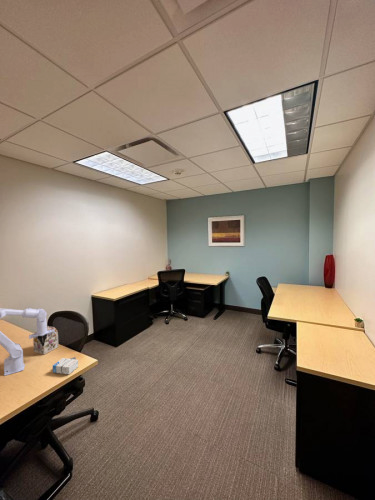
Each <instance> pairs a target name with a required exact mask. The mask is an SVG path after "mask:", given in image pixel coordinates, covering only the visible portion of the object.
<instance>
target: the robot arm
mask: <svg viewBox="0 0 375 500" xmlns="http://www.w3.org/2000/svg"><path fill="white" fill-rule="evenodd" d="M6 316H22V317H23V318H26V319H27V318H30V319H31V318H32V319H36V320H35V321H36V332H37V333H35V332H34V333H32V334H29V336H28V339H29V340H31V339H33V338H34V337H38V339H39V341H40V342H41V344H42V346H44V343H45V340H46V338H47V334H50V333H55V329H53V330H47V326H48V323H47V320H48V319H47V316H48V313H47V311H46V310H45V309H43V308H42V307H41V308H31V307H27V308H25V309H15V308H14V309H13V308H3V307H0V319H2V318H4V317H6ZM42 336H43V339H42ZM0 346H1V347H2V348H3V349H5V351H7V353H8V354H9V356H8V357H6V358H5V359H4V361H3V372H4V373H3V375H4V376H8V375H12V374H16V373H19V372H22V371H24V370H25V366H26V364H25V363H24V349H23V348H22V347H21V344H19V343H16V342H15V341H14V340H11V339H10V338H9V337H8V336H7V335H6V334H5V333H3V332H2V331H1V330H0Z"/></svg>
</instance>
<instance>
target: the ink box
mask: <svg viewBox="0 0 375 500" xmlns="http://www.w3.org/2000/svg"><path fill="white" fill-rule="evenodd" d="M77 368H79V359H70V358H67V357H62V358H61V359H59V360H58V361H57V362H55V363H54V364H52V373H55V374H61V375H62V374H63V375H70V374H71V373H73V372H74V371H75V370H76V369H77Z"/></svg>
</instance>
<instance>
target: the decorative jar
mask: <svg viewBox="0 0 375 500" xmlns="http://www.w3.org/2000/svg"><path fill="white" fill-rule="evenodd" d="M53 329H55V333H50V334H47V338H46V340H45V343H44V346H42V344H41V342H40V341H39V339H38V337H34V338H32V342H33V343H32V345H33V353H36V354H40V355H47V354H49V353H50V352H53V351H54V350H56V349H58V348H59V332H58V329H57V328H55V327H54V326H49V325H47V330H53ZM35 333H37V331H35V332H34V334H35ZM42 339H43V336H42Z"/></svg>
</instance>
